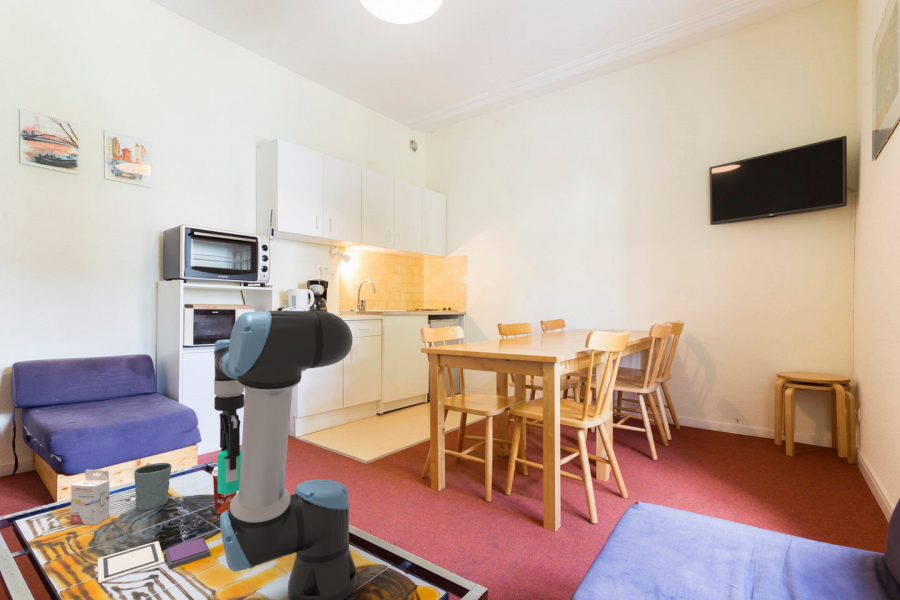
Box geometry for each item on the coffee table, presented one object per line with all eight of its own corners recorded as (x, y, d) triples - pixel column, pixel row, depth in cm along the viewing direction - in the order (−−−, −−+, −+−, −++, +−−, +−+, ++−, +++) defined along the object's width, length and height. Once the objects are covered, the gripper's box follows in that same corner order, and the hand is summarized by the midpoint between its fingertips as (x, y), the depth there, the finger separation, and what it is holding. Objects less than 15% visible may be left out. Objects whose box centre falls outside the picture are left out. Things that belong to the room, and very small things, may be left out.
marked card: (164, 562, 109) (164, 561, 109) (98, 583, 101) (98, 582, 101) (158, 541, 119) (158, 540, 119) (97, 559, 111) (97, 558, 111)
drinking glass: (126, 509, 139) (126, 471, 140) (155, 496, 149) (156, 461, 149) (150, 513, 136) (150, 474, 137) (178, 499, 146) (178, 463, 146)
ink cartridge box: (69, 524, 130) (69, 474, 130) (84, 516, 135) (85, 468, 135) (95, 525, 129) (95, 475, 129) (110, 517, 134) (110, 469, 134)
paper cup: (218, 520, 131) (218, 473, 132) (207, 513, 136) (207, 468, 136) (244, 510, 137) (244, 466, 138) (232, 504, 142) (232, 461, 142)
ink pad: (210, 555, 112) (210, 550, 112) (169, 569, 106) (169, 563, 106) (203, 541, 119) (203, 536, 119) (164, 553, 113) (164, 548, 113)
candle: (231, 495, 118) (231, 450, 118) (212, 493, 119) (212, 449, 119) (246, 486, 123) (246, 443, 124) (227, 484, 125) (227, 442, 125)
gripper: (252, 397, 117) (252, 484, 116) (236, 388, 131) (236, 465, 131) (221, 401, 112) (221, 491, 112) (208, 391, 126) (208, 471, 126)
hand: (229, 477), depth 121 cm, fingers closed on candle, 5 cm apart
